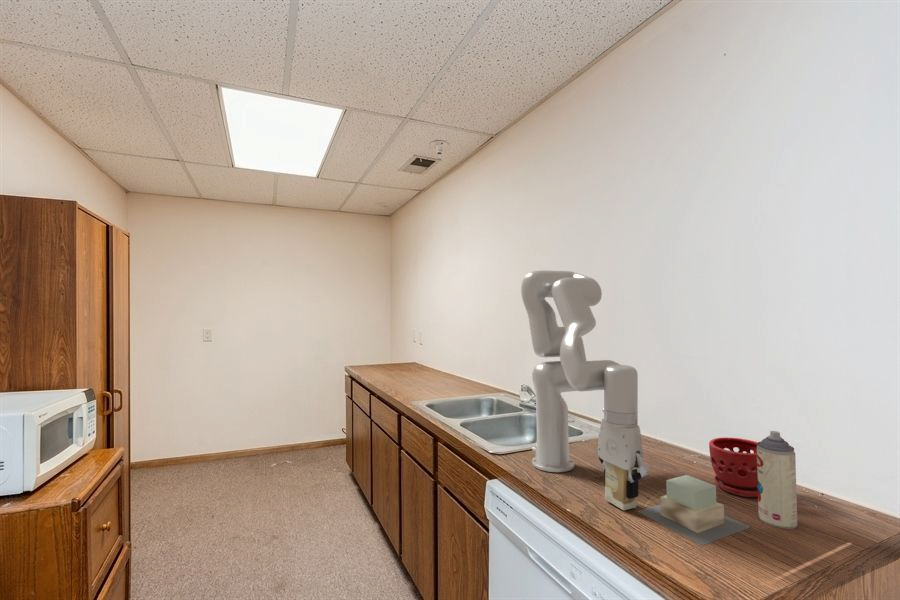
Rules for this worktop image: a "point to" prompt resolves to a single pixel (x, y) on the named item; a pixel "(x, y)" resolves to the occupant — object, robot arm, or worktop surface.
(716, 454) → the plant pot
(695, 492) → the top block
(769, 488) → the aerosol can
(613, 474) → the skincare box
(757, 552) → the worktop surface
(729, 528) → the mat
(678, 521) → the base block
